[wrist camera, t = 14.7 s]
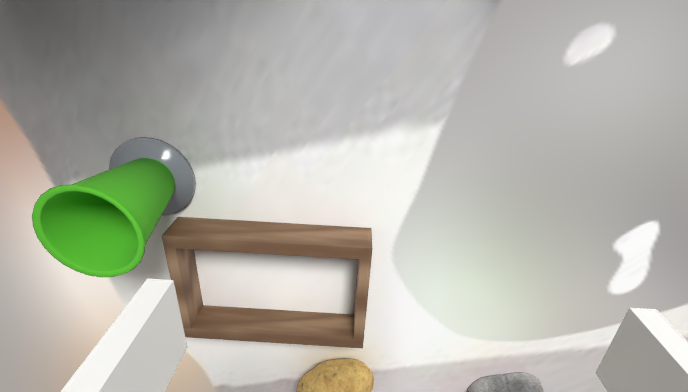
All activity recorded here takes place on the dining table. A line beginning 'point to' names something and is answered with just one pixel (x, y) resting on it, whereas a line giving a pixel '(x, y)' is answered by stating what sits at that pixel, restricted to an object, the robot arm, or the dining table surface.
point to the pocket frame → (266, 241)
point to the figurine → (507, 383)
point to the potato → (337, 377)
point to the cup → (104, 217)
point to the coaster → (166, 156)
